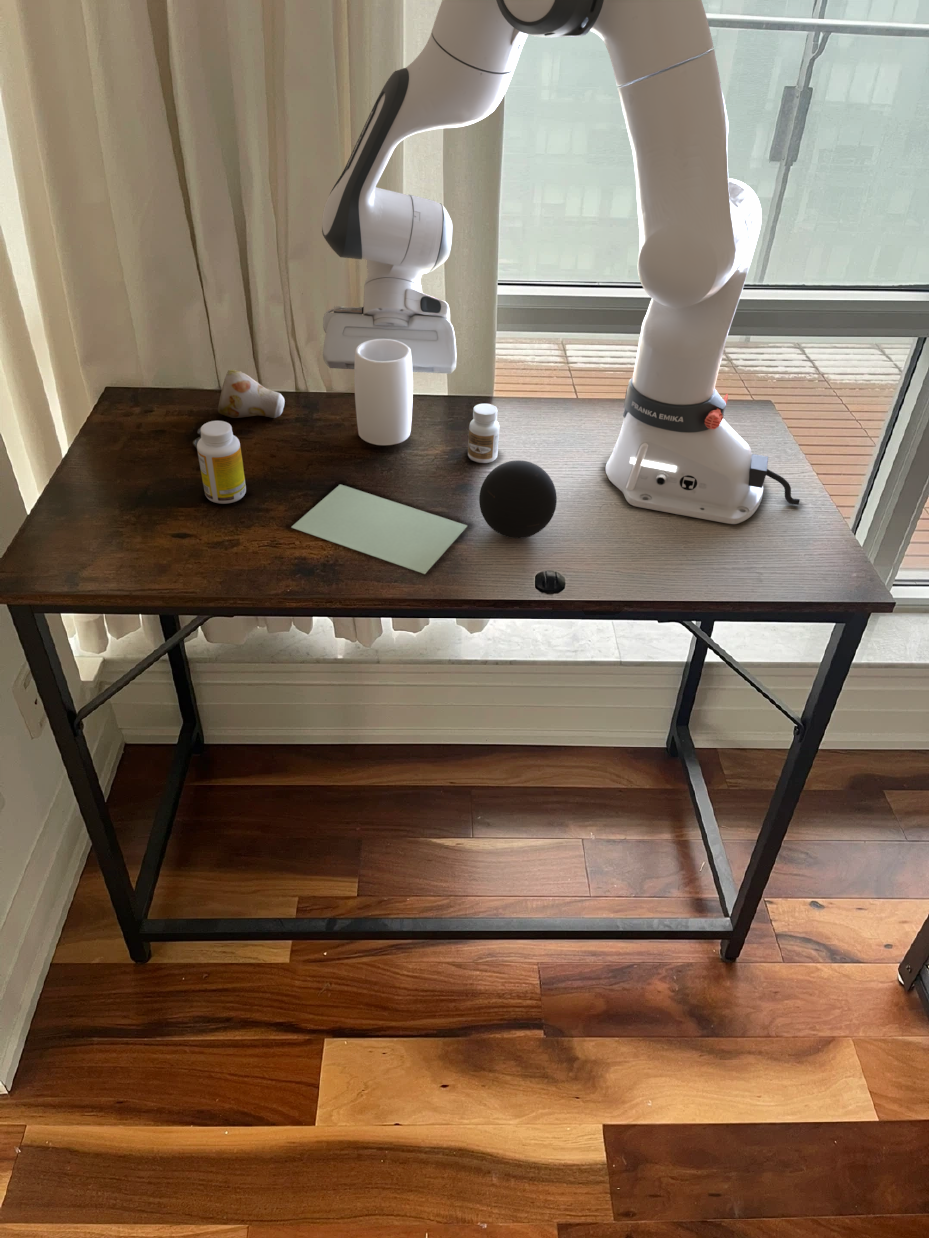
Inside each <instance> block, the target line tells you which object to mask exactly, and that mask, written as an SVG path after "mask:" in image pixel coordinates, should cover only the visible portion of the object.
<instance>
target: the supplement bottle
mask: <svg viewBox="0 0 929 1238" xmlns="http://www.w3.org/2000/svg"><path fill="white" fill-rule="evenodd" d="M200 428H201V436H200V437H201V439H200V440H199V441H198V443H197V448H196V451H197V457H198V462H199V468H200V469H199V470H200V475H201V481H202V486H203V491H204V495H205V497H206V498H207V499H208V500H209V501H210V502H211V503H212V502H213V503H216V504H220V505H227V504H232V503H236V502H238V501H240V500H242V498H244V496H245V494H246V493H247V485H246V476H245V471H244V462H243V455H242V448H241V443H240V439H239V438H238V437H237V436H236V435H234V432H233V427H232V425H231V424H230V423H229V422H227V421H224V420H211V421H208V422H206V423H204V424H203V425H201V426H200Z"/></svg>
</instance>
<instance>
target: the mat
mask: <svg viewBox="0 0 929 1238" xmlns="http://www.w3.org/2000/svg"><path fill="white" fill-rule="evenodd" d="M290 528H291V529H294V530H296V531H299V532H303V533H305V534H308V535H311V536H314V537H317V538H320V539H323V540H324V541H328V542H331V543H334V544H337V545H340V546H342V547H345V548H347V549H351V550H353V551H356V552H359V553H362V554H365V555H368V556H371V557H373V558H376V559H380V560H383V561H385V562H389V563H391V564H393V565H397V566H400V567H403V568H405V569H409V570H411V571H414V572H417V573H419V574H423V575H426V574H427V573H428V572H429V570H430V569H432V567H433V566H434V565H435V564H436V563H437V561H439V559H441V557H442V556H443V554H444V553H445V552H446V551H447V550H448V549H449V548H450V547H451V546H452V545H453V543H454V542H455V541H456V540H457V539H458V538H459V537H460V536H461V534H462V533H463V532H464V531H465V530H466V529H467V528H468V525H467V524H464V523H461V522H457V521H455V520H451V519H448V518H446V517H442V516H440V515H436V514H434V513H430V512H427V511H424V510H421V509H418V508H414V507H411V506H408V505H406V504H402V503H399V502H396V501H394V500H390V499H387V498H384V497H380V496H378V495H375V494H371V493H370V492H369V493H368V492H366V491H362V490H360V489H356V488H354V487H350V486H347V485H343V484H338V486H336V487H335V488H334V489H333V490H331V491H330V492H329V493H328V494H327V495H326V496H325V497H324V498H322V500H320V501H319V502H318V503H317V504H315V506H314V507H312V508H311V509H310V510H309V511H307V512H306V513H305V514H304V515H303V516H301V518H299V520H297V521H296V522H295V523H294V524H293V525H291V527H290Z"/></svg>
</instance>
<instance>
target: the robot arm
mask: <svg viewBox="0 0 929 1238" xmlns="http://www.w3.org/2000/svg"><path fill="white" fill-rule="evenodd" d="M436 13H437V14H436V17H435V20H434V23H433V26H432V29H431V32H430V35H429V38H428V40H427V42H426V44H425V45H424V47H423V49H422V50H421V51H420V53H419V54H418V55H417V56H416V58H414V60H413V61H412V62H410V64H408V65H407V66H405V67H403V68H400V69H397V70H394V71H393V72H392V73H391V75H390V76H389V78H388V79H387V80H386V82H385V83H384V85H383V87H382V89H381V91H380V93H379V95H378V97H377V99H376V100H375V102H374V104H373V106H372V109H371V111H370V113H369V115H368V116H367V119H366V122H365V124H364V126H363V128H362V130H361V132H360V135H359V137H358V138H357V141H356V143H355V145H354V147H353V150H352V151H351V154H350V155H349V158H348V161H347V162H346V164H345V166H344V169H343V171H342V172H341V174H340V176H339V177H338V179H337V180H336V182H335V184H334V185H333V187H332V189H331V191H330V193H329V194H328V197H327V199H326V201H325V203H324V207H323V211H322V218H321V234H322V236H323V238H324V240H325V241H326V244H327V245H329V247H330V248H331V250H332V251H333V252H334V253H335V254H336V255H337V256H338V257H339V258H345V259H353V260H365V261H366V260H367V265H366V269H368V270H367V274H366V279H365V280H364V286H363V306H343V305H336V306H335V305H334V306H333V308H330V309H328V310H327V311H325V313H324V314H323V317H322V329H323V332H324V333H325V335H324V339H323V345H322V346H323V347H322V358H323V361H324V363H325V364H326V366H327V367H328V368H329V369H336V370H337V369H338V370H339V369H341V370H354V365H355V351H356V348H357V347H358V346H359V345H360V344H361V343H363V342H365V341H369V340H374V339H392V340H396V341H399V342H402V343H404V344H406V345H407V346H408V347H409V348H410V350H411V358H412V372H413V373H425V374H427V373H428V374H446V375H447V374H448V375H449V374H452V373H453V372H454V371H455V370H456V369H457V343H456V342H457V341H456V335H455V330H454V326H453V324H452V322H451V310H450V306H449V304H448V302H447V301H445V300H443V299H440V298H437V297H435V296H431V295H429V294H427V293H424V292H423V288H422V284H421V279H422V277H423V275H424V274H426V275H428V274H429V273H432V272H433V271H435V270H436V269H437V268H439V267H440V266H441V265H443V264H445V262H446V261H447V260H448V258H449V257H450V255H451V249H452V242H453V221H452V219H451V217H450V214H449V212H448V211H447V209H446V207H445V206H444V204H442V203H441V202H438V201H435V200H434V199H430V198H426V197H421V196H417V195H414V194H407V193H402V192H398V191H394V190H391V189H390V190H389V189H386V188H385V189H384V188H380V187H377V185H378V184H379V181H380V179H381V177H382V175H383V174H384V171H385V169H386V167H387V165H388V163H389V160H390V158H391V157H392V155H393V152H394V151H395V149H396V148H397V146H398V145H399V144H400V143H401V142H402V141H403V140H405V139H406V138H409V137H410V136H413V135H416V134H419V133H420V134H421V133H424V132H428V131H429V132H430V131H434V130H440V129H454V128H455V129H456V128H462V127H466V126H470V125H473V124H475V123H478V122H479V121H482V120H483V119H485V118H487V117H489V115H491V114H492V113H493V112H495V110H496V109H497V107H498V106H499V105H500V103H501V102H502V100H503V98H504V96H505V95H506V93H507V90H508V88H509V85H510V83H511V80H512V77H513V76H514V73H515V71H516V67H517V65H518V62H519V58H520V55H521V53H522V50H523V47H524V45H525V43H526V40H527V38H528V36H532V37H536V38H545V39H546V38H547V39H554V38H582V37H584V36H586V35H587V34H589V32H591V33H594V34H595V35H597V36H598V37H599V38H600V40H601V41H602V42H603V43H604V46H605V47H606V50H607V52H608V55H609V59H610V63H611V67H612V71H613V75H614V79H615V85H616V89H617V92H618V97H619V101H620V105H621V109H622V114H623V119H624V122H625V126H626V130H627V131H626V132H627V135H628V139H629V143H630V148H631V152H632V159H633V166H634V175H635V187H636V188H635V189H636V203H637V218H638V229H639V251H638V257H637V274H638V279H639V282H640V284H641V286H642V288H643V290H644V291H645V292H646V294H647V295H648V296H649V297H650V298H651V300H650V301H649V305H648V308H647V311H646V314H645V316H644V318H643V321H642V323H641V328H640V334H639V339H638V347H637V351H636V357H635V363H634V367H633V373H632V377H631V378H630V379H629V380H628V384H627V387H626V391H625V396H624V402H623V415H622V416H623V421H622V425H621V429H620V430H619V434H618V438H617V440H616V442H615V445H614V447H613V450H612V453H611V454H610V457H609V458H608V460H607V462H606V464H605V474H606V476H607V478H608V480H609V481H610V482H611V484H613V485H614V486H615V487H616V488H617V489H618V490H620V491H621V493H622V494H623V496H624V498H625V500H626V502H627V503H628V504H629V505H631V506H633V507H637V508H642V509H647V510H653V511H657V512H658V511H659V512H662V513H663V512H664V513H670V514H675V515H680V516H685V517H690V518H696V519H701V520H706V521H711V522H717V523H723V524H728V525H738V524H740V523H743V522H745V521H746V520H748V519H749V518H751V517H752V516H753V515H754V514H755V512H756V511H757V510H758V509H759V506H760V505H761V502H762V499H763V494H764V483H765V479H766V476H767V477H769V478H771V479H773V480H774V481H775V482H777V483H779V484H781V486H782V487H783V488H784V499H785V501H786V502H787V503H788V504H790V505H797V506H799V504H800V501H801V499H800V498H793V497H792V488H791V485H790V483H789V481H788V480H787V479H786V478H784V477H783V476H781V475H779V474H777V473H776V472H774V471H772V470H770V469H769V468H768V466H769V465H768V464H769V456H767V455H761V454H756V453H752V448H751V446H750V445H749V444H748V442H747V441H745V439H743V437H742V436H740V434H738V433H737V432H736V430H735V429H734V428H733V427H732V426H731V425H730V424H729V423H728V422H727V421H726V419H724V416H725V413H726V409H727V404H728V399H729V394H728V393H726V394H725V395H724V397H722V396H721V395H720V393H719V392H718V390H717V389H716V385H717V380H718V376H719V371H720V367H721V363H722V360H723V356H724V351H725V347H726V343H727V339H728V336H729V332H730V329H731V326H732V324H733V319H734V317H735V314H736V311H737V308H738V305H739V302H740V299H741V295H742V293H743V289H744V287H745V283H746V280H747V276H748V274H749V270H750V267H751V263H752V260H753V257H754V253H755V249H756V246H757V242H758V239H759V235H760V231H761V227H762V216H763V215H762V206H761V203H760V200H759V198H758V195H757V194H756V192H755V191H754V190H753V189H752V188H751V187H750V186H749V185H747V184H746V183H744V182H743V181H741V180H738V179H735V178H729V167H728V164H729V163H728V136H729V119H728V113H727V109H726V103H725V98H724V93H723V87H722V82H721V78H720V73H719V68H718V61H717V55H716V52H715V49H714V42H713V38H712V33H711V29H710V25H709V20H708V17H707V12H706V10H705V7H704V4H703V1H702V0H441V2H440V5H439V7H438V11H437V12H436Z"/></svg>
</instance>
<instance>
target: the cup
mask: <svg viewBox="0 0 929 1238" xmlns="http://www.w3.org/2000/svg"><path fill="white" fill-rule="evenodd" d="M353 370H354V374H353V381H354V382H353V383H354V386H353V387H354V401H355V403H354V404H355V415H356V416H355V417H356V426H357V433H358V436H359V437H360V438H361V440H363V441H365V442H366V443H369V444H371V445H376V446H393V445H397V444H400V443H403V442H405V441H406V440H408V439H409V437H410V436H411V431H412V421H413V401H414V400H413V399H414V398H413V397H414V377H413V376H414V375H413V374H414V372H412V358H411V350H410V348H409V347H408V346H407V345H406V344H404V343H402V342H399V341H396V340H392V339H374V340H369V341H365V342H363V343H361V344H360V345H359V346H358V347H357V348H356V351H355V365H354V369H353Z"/></svg>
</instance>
